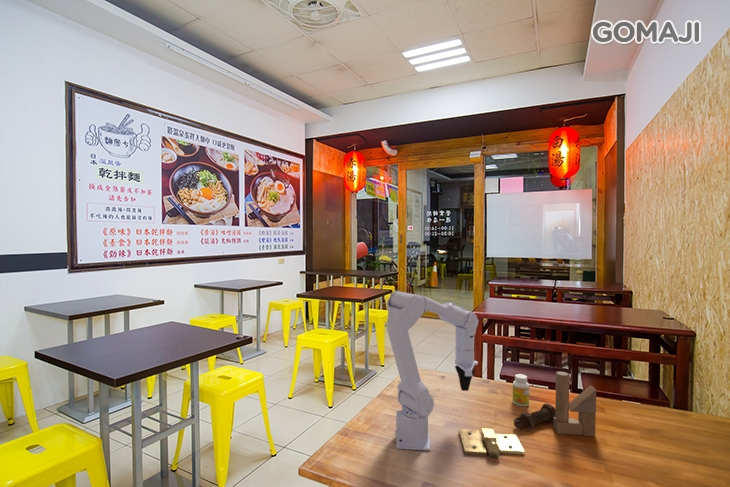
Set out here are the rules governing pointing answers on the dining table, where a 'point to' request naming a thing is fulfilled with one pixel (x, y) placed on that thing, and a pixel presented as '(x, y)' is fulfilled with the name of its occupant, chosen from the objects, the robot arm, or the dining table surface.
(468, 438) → the fixed leaf
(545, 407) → the bolt
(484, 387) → the dining table surface
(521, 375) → the supplement bottle
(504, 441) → the loose leaf
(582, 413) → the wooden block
